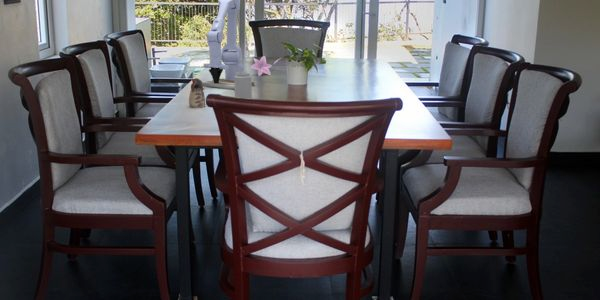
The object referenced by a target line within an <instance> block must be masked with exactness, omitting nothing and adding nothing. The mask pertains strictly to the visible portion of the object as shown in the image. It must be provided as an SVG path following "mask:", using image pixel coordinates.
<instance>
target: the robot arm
mask: <svg viewBox="0 0 600 300" xmlns="http://www.w3.org/2000/svg"><path fill="white" fill-rule="evenodd" d="M217 2H218V3H217V4H218V6H219V8H218V12H217V15H216V16H217V17H216V18H214V19H213V22H212V25H211V28H210V30H209V31H208V32H207V33H206V41H207V45H208V50H209V63H208V62H207V63H203V68H204V69H205V68H208V72H209V73H210V75H211V78H212V80H213V81H214V83H215V84H217V83H219V79H221V76H222V73H223V72H224V73H225V78H224V79H228V80H234V76H235V75H236V73H239V72H244V67H243V66H244V65H243V64H242V61H243V54H242V53H243V51H242V48H241V46H239V45H238V44H237V35H238V31H237V29H238V12H239V11H240V10H241V0H217ZM226 17H227V19H226ZM225 19H226V20H227V21H225ZM225 26H226V44H225V45H224V46H223V47H222V42H223V39H224V29H225Z"/></svg>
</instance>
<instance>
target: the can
mask: <svg viewBox="0 0 600 300" xmlns="http://www.w3.org/2000/svg"><path fill="white" fill-rule="evenodd" d="M252 82H253V81H252V76H251V73H250V72H248V71H243V72H239V73H236V75H235V76H234V84H235V90H234V98H235V97H240V98H251V99H253V92H252V88H253V86H252Z"/></svg>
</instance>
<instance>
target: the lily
mask: <svg viewBox="0 0 600 300" xmlns="http://www.w3.org/2000/svg"><path fill="white" fill-rule="evenodd" d="M253 61H254V64H251V66H250V67H249V68H251V69H253V70H257V75H258V77H260V76H261V75H262V74H263V73H264V74H266V75H268V76H272V74H271V72H270V68H271V67H272V66H273V65H272V64H270V63H267V57H266V56H265V55H263V56H261V58H260V60H259V59H258V58H255V57H253Z"/></svg>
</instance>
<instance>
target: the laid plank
mask: <svg viewBox="0 0 600 300" xmlns="http://www.w3.org/2000/svg"><path fill="white" fill-rule="evenodd" d="M211 81H213V79H212V80H211ZM219 82H228V83H234V80H228V79H225V78H220V79H219ZM251 82H252V87H254V86H253V85H255V82H254V81H251Z"/></svg>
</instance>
